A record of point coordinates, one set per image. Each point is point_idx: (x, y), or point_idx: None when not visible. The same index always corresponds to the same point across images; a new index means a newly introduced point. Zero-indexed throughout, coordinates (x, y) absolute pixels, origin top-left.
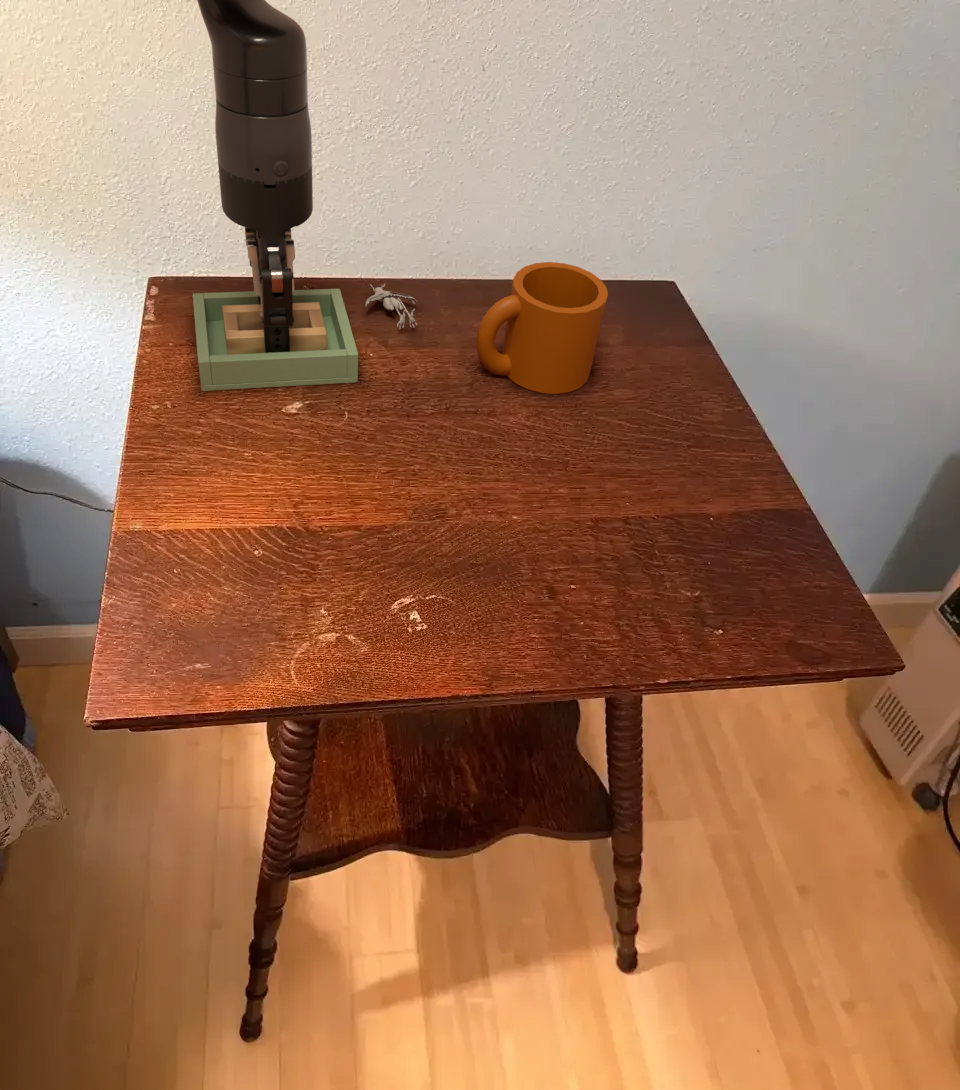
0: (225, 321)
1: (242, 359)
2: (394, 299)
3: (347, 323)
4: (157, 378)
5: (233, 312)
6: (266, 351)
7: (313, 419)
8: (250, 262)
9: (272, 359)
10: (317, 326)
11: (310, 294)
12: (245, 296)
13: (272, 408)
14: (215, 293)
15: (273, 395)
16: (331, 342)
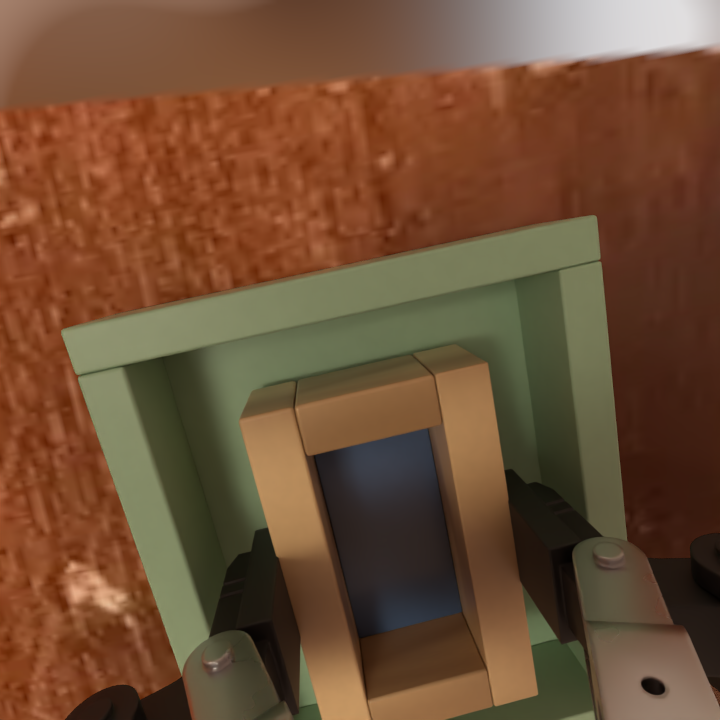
0: (365, 396)
1: (120, 496)
2: None
3: None
4: (168, 148)
5: (438, 416)
6: (254, 538)
7: (48, 649)
8: (594, 651)
9: (154, 593)
10: (375, 716)
11: None
12: (580, 431)
13: (76, 536)
14: (598, 311)
15: None
16: None
